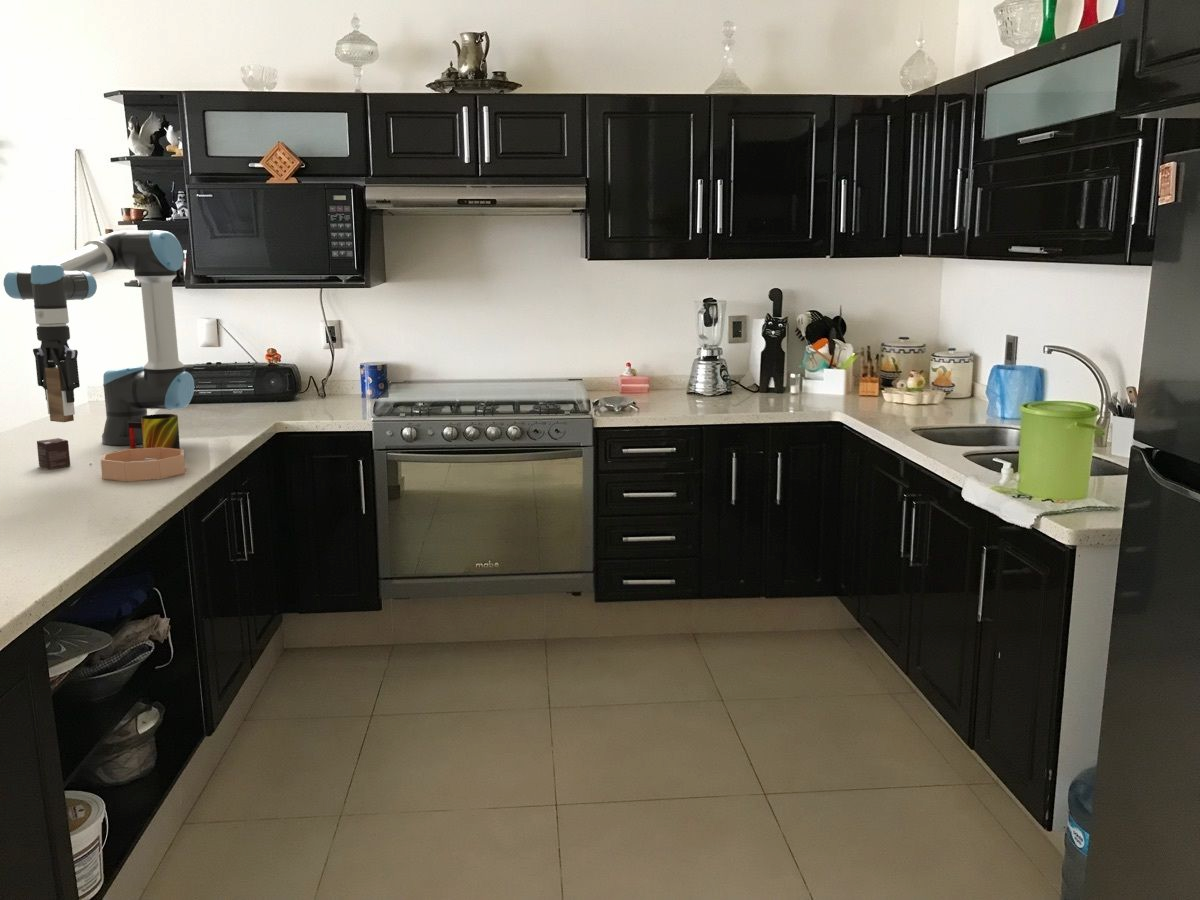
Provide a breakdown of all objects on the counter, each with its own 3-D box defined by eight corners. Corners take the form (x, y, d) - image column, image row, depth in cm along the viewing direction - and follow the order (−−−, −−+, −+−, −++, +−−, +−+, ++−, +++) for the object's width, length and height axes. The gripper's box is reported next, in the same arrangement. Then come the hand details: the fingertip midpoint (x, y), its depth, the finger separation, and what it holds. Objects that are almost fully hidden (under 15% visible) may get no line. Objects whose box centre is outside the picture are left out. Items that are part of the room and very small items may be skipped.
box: (61, 463, 285) (59, 437, 283) (71, 466, 281) (68, 440, 280) (38, 466, 280) (36, 440, 279) (48, 469, 276) (45, 443, 275)
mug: (131, 455, 296) (128, 415, 294) (182, 453, 300) (179, 413, 298) (125, 462, 287) (122, 420, 285) (178, 459, 291) (175, 418, 289)
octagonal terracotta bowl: (146, 462, 286) (145, 445, 285) (202, 469, 278) (201, 451, 277) (84, 476, 268) (83, 458, 267) (142, 483, 260) (141, 464, 259)
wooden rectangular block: (60, 419, 269) (55, 366, 266) (73, 420, 267) (68, 367, 264) (50, 421, 266) (44, 367, 264) (63, 422, 264) (58, 368, 262)
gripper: (14, 324, 262) (24, 413, 267) (64, 327, 255) (73, 418, 260) (40, 322, 269) (49, 409, 273) (90, 325, 262) (98, 414, 266)
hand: (61, 414), depth 266 cm, fingers closed on wooden rectangular block, 5 cm apart
